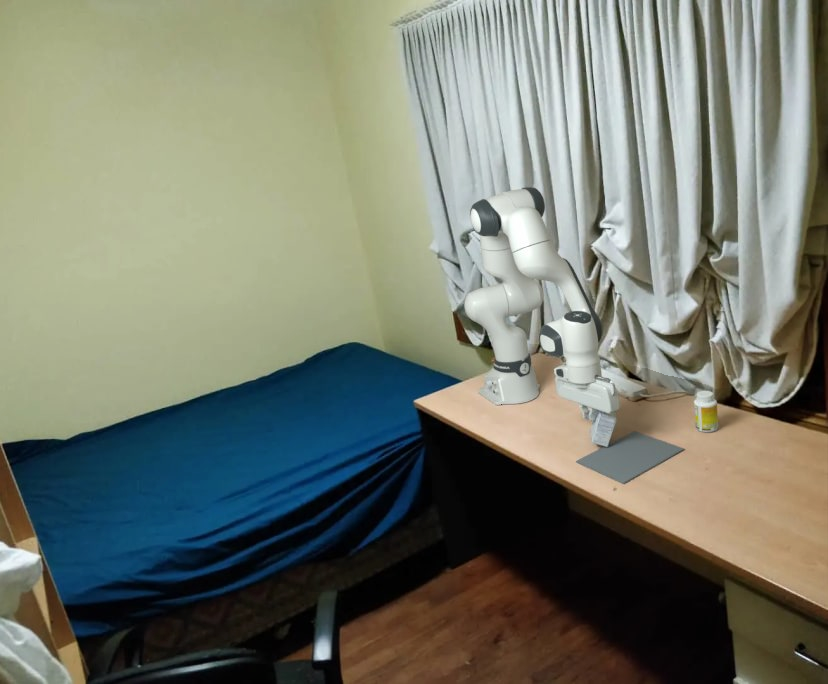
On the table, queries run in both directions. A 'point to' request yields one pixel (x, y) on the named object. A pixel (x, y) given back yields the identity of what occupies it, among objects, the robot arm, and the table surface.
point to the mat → (629, 456)
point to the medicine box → (602, 428)
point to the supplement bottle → (706, 412)
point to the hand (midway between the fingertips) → (589, 418)
